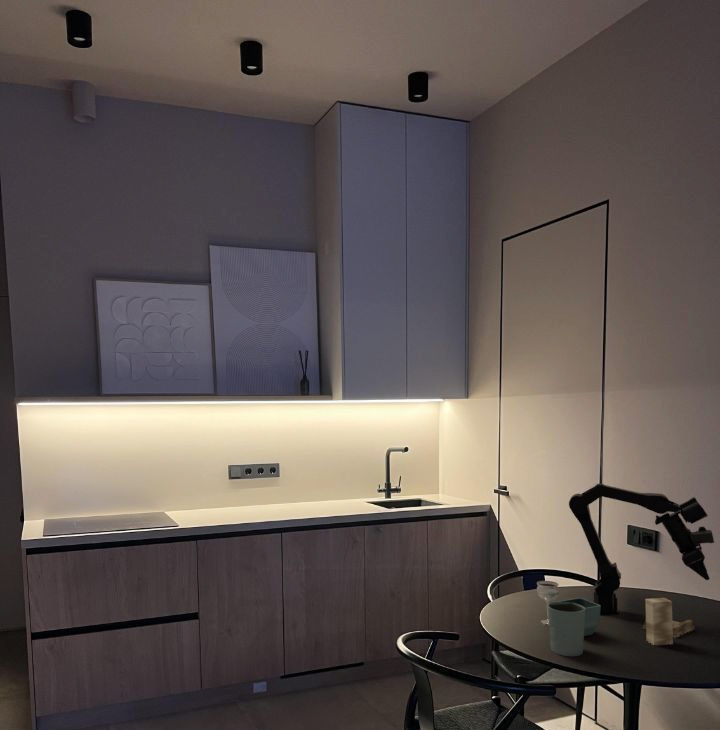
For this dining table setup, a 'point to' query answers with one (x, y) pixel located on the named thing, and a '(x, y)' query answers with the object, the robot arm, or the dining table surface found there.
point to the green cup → (566, 628)
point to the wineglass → (547, 593)
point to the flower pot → (588, 614)
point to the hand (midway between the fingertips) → (707, 575)
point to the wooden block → (659, 621)
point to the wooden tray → (680, 627)
